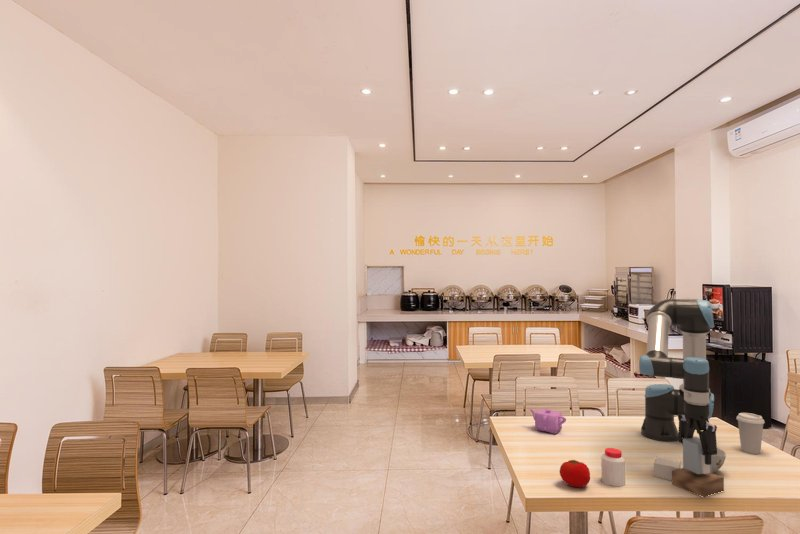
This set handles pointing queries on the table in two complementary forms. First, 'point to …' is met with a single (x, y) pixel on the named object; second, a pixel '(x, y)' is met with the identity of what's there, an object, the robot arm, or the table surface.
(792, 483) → the table surface
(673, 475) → the walnut block
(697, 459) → the slate block
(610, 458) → the pill bottle
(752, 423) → the coffee cup
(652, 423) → the robot arm
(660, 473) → the grey block
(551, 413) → the teapot
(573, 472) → the tomato
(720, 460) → the teacup
